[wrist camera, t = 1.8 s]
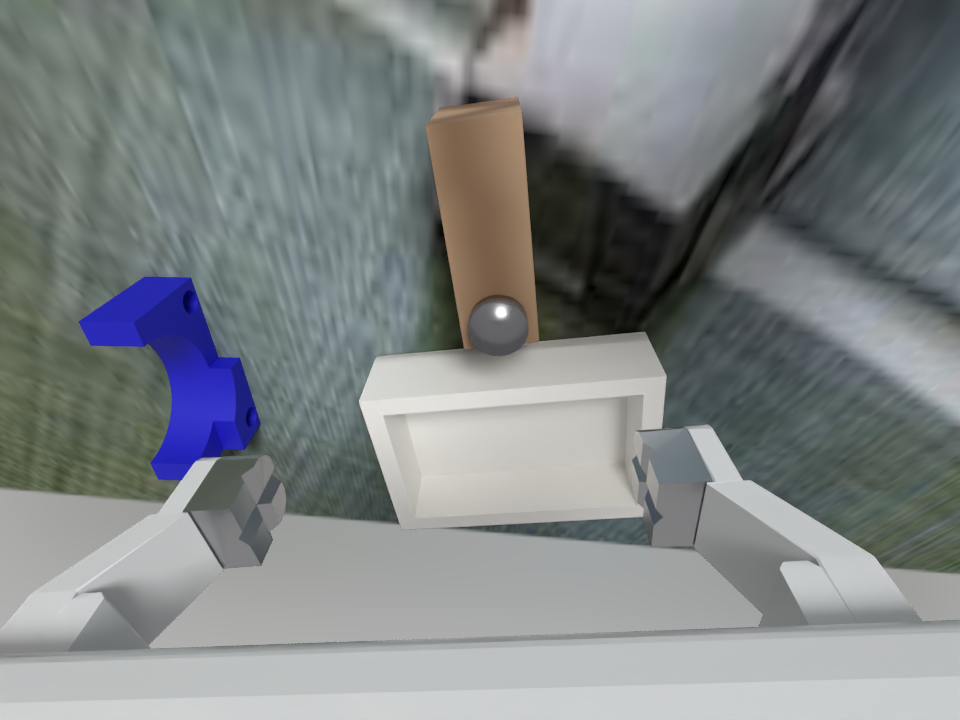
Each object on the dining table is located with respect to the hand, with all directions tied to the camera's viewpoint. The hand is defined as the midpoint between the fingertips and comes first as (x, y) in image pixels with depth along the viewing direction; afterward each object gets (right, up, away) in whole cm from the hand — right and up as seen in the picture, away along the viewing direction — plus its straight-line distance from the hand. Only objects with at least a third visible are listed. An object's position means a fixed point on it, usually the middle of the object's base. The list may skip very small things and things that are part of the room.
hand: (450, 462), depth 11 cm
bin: (+3, -2, +25) cm, 25 cm away
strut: (+1, +11, +17) cm, 20 cm away
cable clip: (-18, +3, +24) cm, 30 cm away
